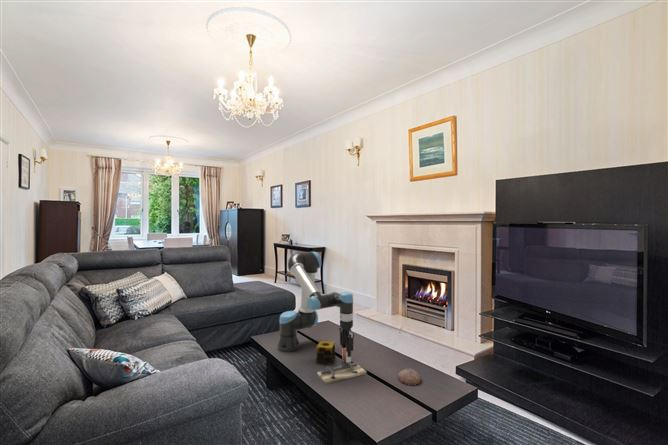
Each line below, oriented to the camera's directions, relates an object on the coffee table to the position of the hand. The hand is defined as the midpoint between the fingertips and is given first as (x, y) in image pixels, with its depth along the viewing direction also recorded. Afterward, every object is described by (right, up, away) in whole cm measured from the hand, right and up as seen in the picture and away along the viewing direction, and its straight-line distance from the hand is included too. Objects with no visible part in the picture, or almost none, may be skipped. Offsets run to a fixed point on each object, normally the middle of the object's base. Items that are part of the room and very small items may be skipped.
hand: (346, 360), depth 186 cm
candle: (-12, -6, +13) cm, 19 cm away
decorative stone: (+34, -6, -12) cm, 36 cm away
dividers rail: (-2, -4, -5) cm, 7 cm away
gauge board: (-3, -6, -5) cm, 8 cm away
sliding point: (+1, -4, -3) cm, 5 cm away
